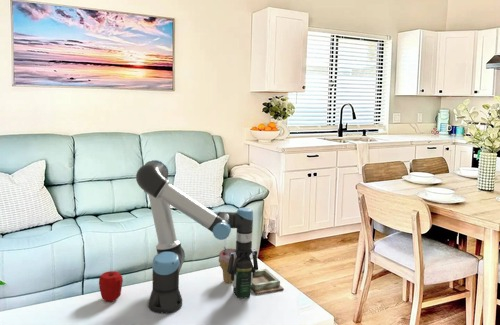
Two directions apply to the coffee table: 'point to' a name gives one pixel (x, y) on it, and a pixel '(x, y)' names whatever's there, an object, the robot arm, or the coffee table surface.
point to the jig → (265, 282)
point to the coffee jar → (243, 279)
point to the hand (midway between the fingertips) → (242, 285)
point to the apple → (110, 285)
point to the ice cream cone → (226, 263)
